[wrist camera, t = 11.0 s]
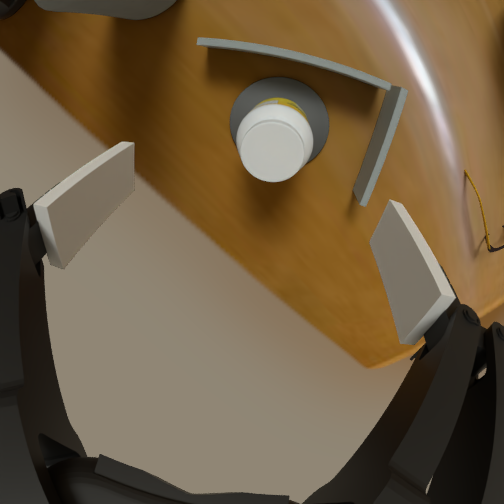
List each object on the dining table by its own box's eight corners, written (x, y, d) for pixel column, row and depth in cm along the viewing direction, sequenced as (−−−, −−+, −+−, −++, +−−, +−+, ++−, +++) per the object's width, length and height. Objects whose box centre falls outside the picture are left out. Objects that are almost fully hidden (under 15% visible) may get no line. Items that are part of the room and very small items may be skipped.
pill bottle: (307, 151, 30) (316, 195, 20) (251, 151, 31) (232, 194, 21) (307, 96, 26) (318, 110, 17) (246, 97, 27) (223, 112, 17)
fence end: (352, 189, 32) (359, 204, 29) (388, 84, 24) (401, 87, 20) (358, 191, 32) (365, 206, 29) (394, 87, 24) (408, 90, 20)
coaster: (223, 157, 32) (223, 158, 31) (239, 68, 25) (239, 68, 25) (313, 178, 32) (314, 179, 32) (339, 92, 25) (340, 92, 25)
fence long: (207, 47, 24) (196, 44, 20) (208, 41, 23) (198, 37, 20) (377, 87, 24) (389, 90, 21) (379, 81, 24) (391, 83, 20)
